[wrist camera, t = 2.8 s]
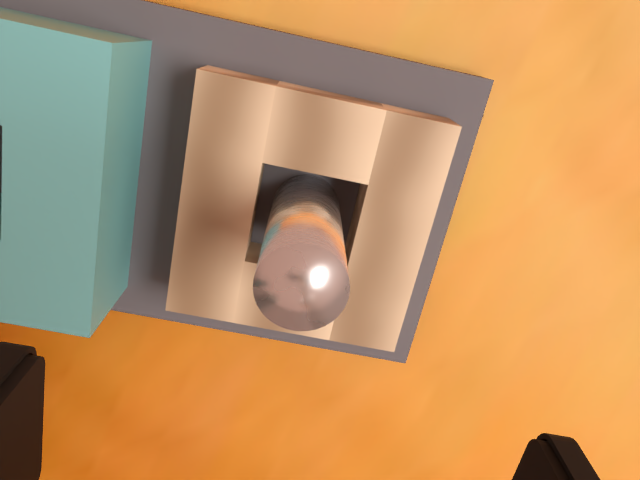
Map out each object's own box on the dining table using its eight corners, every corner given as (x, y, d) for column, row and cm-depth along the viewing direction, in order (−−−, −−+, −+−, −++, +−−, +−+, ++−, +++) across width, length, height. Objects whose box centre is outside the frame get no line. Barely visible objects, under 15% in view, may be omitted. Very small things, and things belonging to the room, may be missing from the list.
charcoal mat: (484, 77, 26) (493, 80, 25) (401, 348, 31) (405, 363, 30) (-138, -64, 24) (-167, -70, 22) (-117, 253, 29) (-139, 264, 28)
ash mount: (448, 117, 25) (462, 126, 23) (387, 326, 29) (394, 352, 27) (208, 65, 24) (196, 68, 22) (177, 287, 28) (165, 310, 26)
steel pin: (345, 182, 26) (360, 253, 18) (330, 243, 27) (338, 338, 19) (279, 168, 26) (261, 234, 18) (267, 231, 27) (245, 322, 19)
